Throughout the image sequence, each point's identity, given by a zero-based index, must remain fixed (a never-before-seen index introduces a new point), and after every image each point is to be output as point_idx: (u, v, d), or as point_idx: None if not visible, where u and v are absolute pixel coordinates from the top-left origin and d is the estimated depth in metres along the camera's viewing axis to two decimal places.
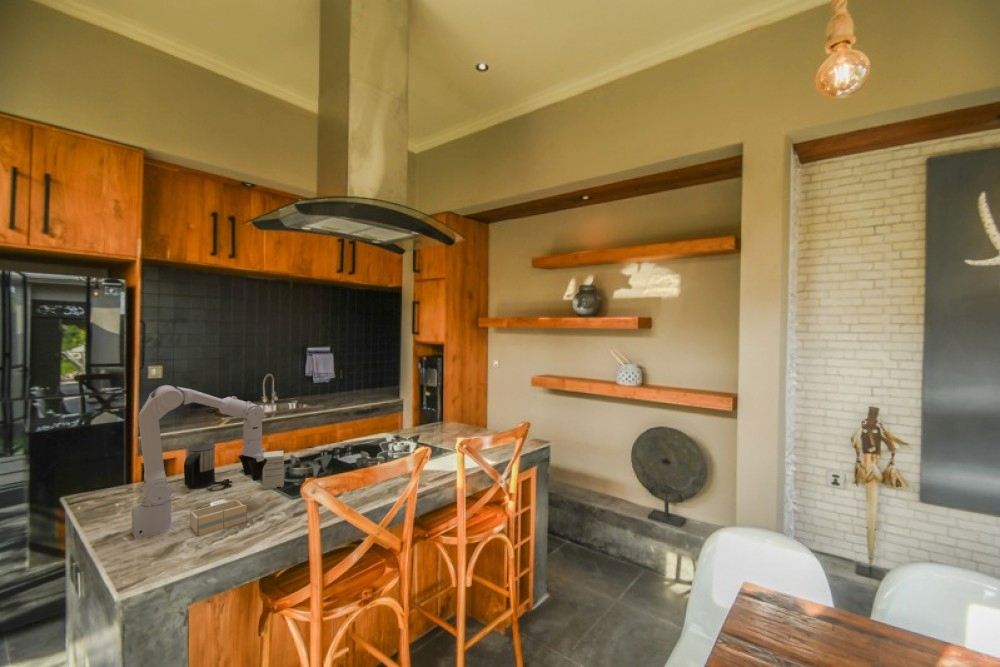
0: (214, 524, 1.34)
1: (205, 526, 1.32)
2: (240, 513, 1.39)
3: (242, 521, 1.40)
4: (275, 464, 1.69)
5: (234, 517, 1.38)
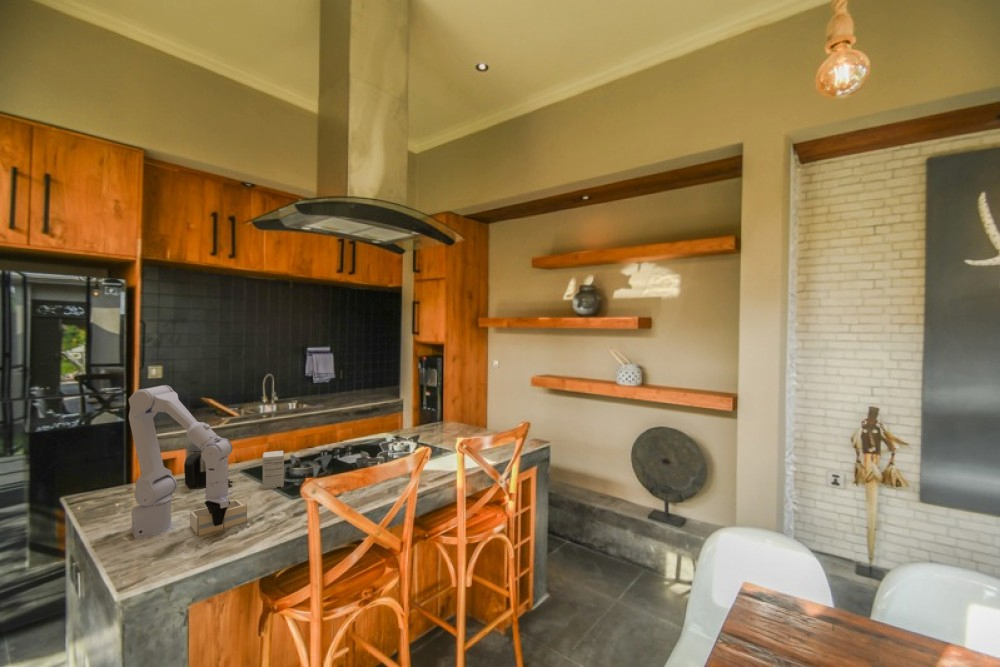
0: None
1: (205, 526, 1.32)
2: (240, 513, 1.39)
3: (242, 521, 1.40)
4: (275, 464, 1.69)
5: (234, 517, 1.38)
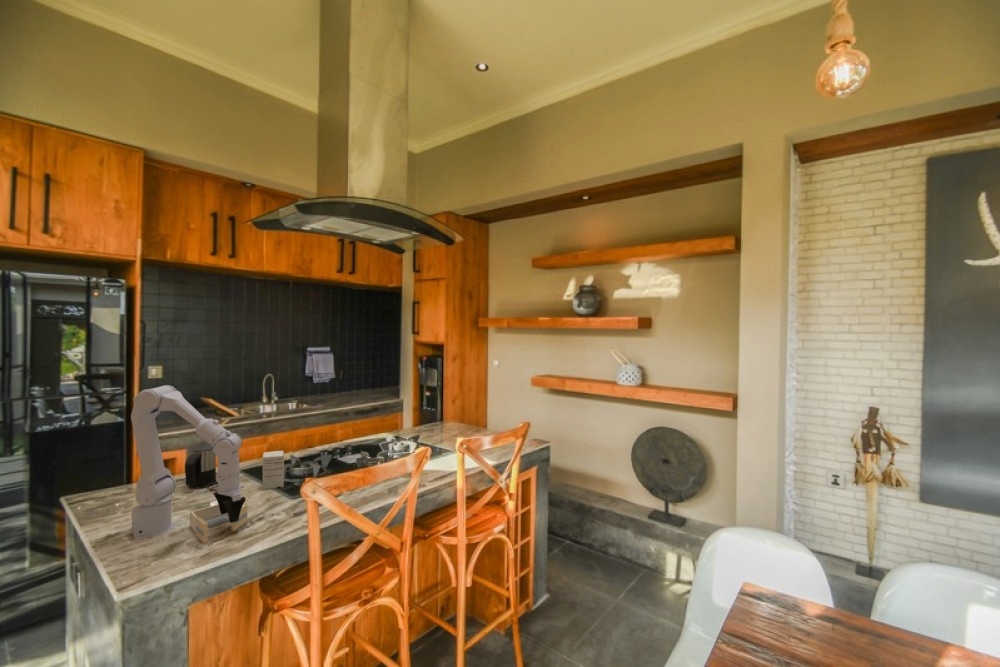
0: (200, 533, 1.28)
1: (197, 530, 1.30)
2: (244, 513, 1.39)
3: (245, 521, 1.40)
4: (275, 464, 1.69)
5: (240, 518, 1.37)
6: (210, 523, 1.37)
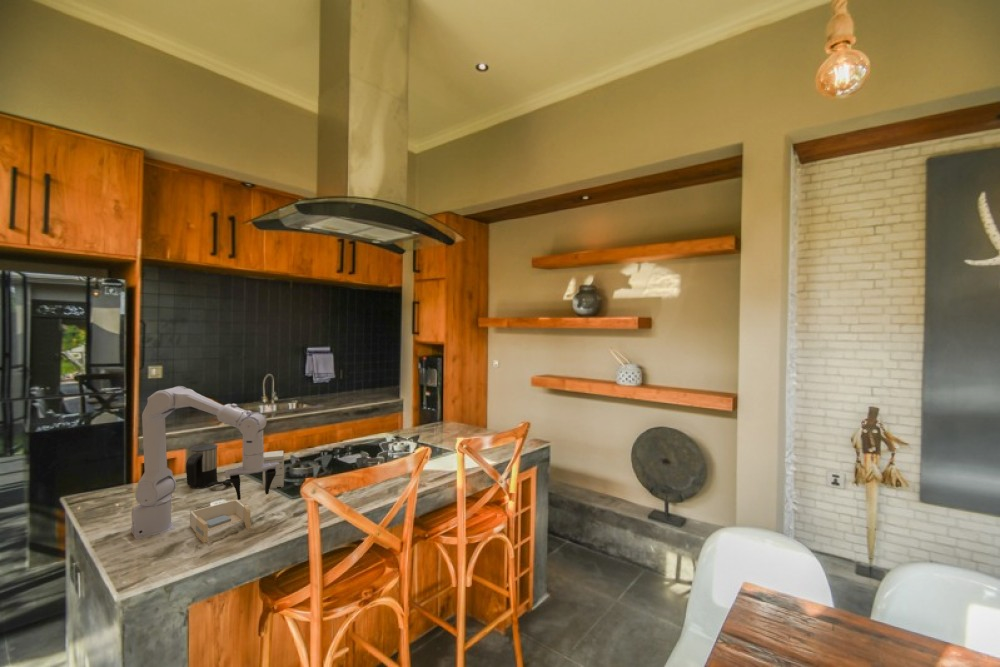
0: (200, 533, 1.28)
1: (197, 530, 1.30)
2: None
3: None
4: None
5: None
6: (210, 523, 1.37)
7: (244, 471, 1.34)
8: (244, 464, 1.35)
